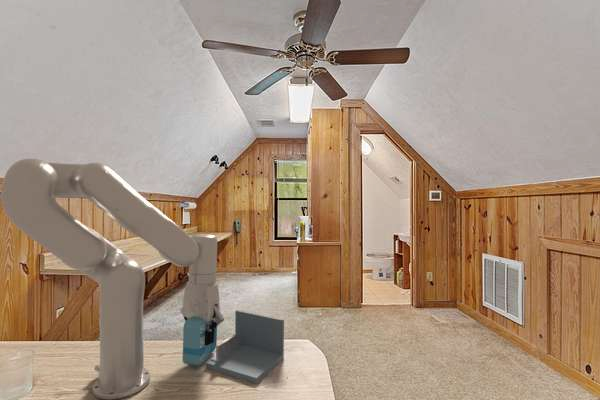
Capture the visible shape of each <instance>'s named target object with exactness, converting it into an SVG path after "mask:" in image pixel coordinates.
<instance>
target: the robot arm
mask: <svg viewBox="0 0 600 400" xmlns="http://www.w3.org/2000/svg"><path fill="white" fill-rule="evenodd" d="M56 198H57V199H81V198H82V199H85V198H86V199H87V200H88V201H89V202H90V203H92V204H93V205H94V206H95V207H97V208H98V210H101V212H103V213H104V214H106V215H107V216H108V217H109V218H110V219H112V220H113V221H114V222H116V224H118V225H119V226H120V227H121V228H123V229H124V230H126V231H127V232H129V233H131V234H132V235H135V236H136V237H138V238H140V239H141V240H143V241H145V242H146V243H148V244H149V245H151V246H152V247H153V248H154V249H156V251H158V253H159V255H160V257H162V258H163V259H164V260H165V261H167V262H169V263H171V264H173V265H175V266H177V267H180V268H185V267H188V272H187V277H188V281H187V282H186V283H185V284H186V285H185V288H184V293H183V300H182V308H180V314H181V315H182V316H183V319H184V320H185V321H186V320H187V319H189V318H190V317H193V318H197V319H201V320H203V322H206V328H207V331H205V345H206V346H207V345H209V344H211V343H213V342H214V329H216V327H217V328H218V327H219V326H220V325H221V323H223V322H224V320H225V317H224V316H223V315H222V312H221V311H220V291H219V285H218V283H217V264H218V263H217V262H218V237H217V236H216V235H215V234H209V233H199V234H193V235H192V234H191V235H190V234H188V233H187V232H186V231H185V230H183V229H182V228H181V227H180V226H179V225H177V224H176V223H175V222H174V221H173V220H171V219H170V218H169V217H167V215H165V214H164V213H162V211H160V210H159V209H158V208H157V207H155V206H154V205H153V204H151V203H150V202H149V201H148V200H147V199H146V198H144V196H142V195H141V194H140V193H139V192H137V191H136V190H135V189H134V188H133V187H132V186H130V185H129V183H127V181H125V180H124V179H123V178H122V177H121V176H119V175H118V174H117V173H116V172H115V171H114V170H113V169H111V168H110V167H108V166H107V165H105V164H104V163H101V162H100V163H99V162H90V163H86V164H79V163H77V164H76V163H59V162H58V163H56V162H46V161H44V160H42V159H38V158H24V159H20V160H18V161H15V163H13V164H12V165H10V167H9V168H8V170H7V171H6V173H5V175H4V178H3V180H2V183H1V188H0V202H1V206H2V209H3V212H4V214H5V216H6V218H7V219H8V220H9V221H10V222H11V223H12V224H13V225H14V226H15V228H17V229H18V230H19V231H20V232H22V233H23V234H25V236H27V237H28V238H30V239H31V240H32V241H34V242H36V243H37V244H38V245H39V246H40V247H42V248H43V249H44V250H46V251H48V252H49V253H51V254H52V255H53V256H54V257H56V258H58V260H60V261H61V262H62V263H63V264H64V265H65V266H67V267H69V268H71V269H73V270H78V271H80V272H81V273H82V274H84V275H86V276H87V277H88V278H90V279H92V280H93V281H95V282H96V283H97V284H98V286H99V307H98V308H99V311H98V312H99V313H98V314H99V316H98V317H99V319H98V320H99V321H98V323H99V364H97V365H95V366H94V371H95V372H97V373H98V378H97V380H95V382H94V383H93V385H92V393H93V395H94V396H95V398H98V399H101V400H116V399H122V398H126V397H129V396H132V395H134V394H137V393H138V392H140V391H142V390H143V389H144V388H145V387H146V386H148V384H149V383H150V381H151V373H150V370H148V369H147V368H144V297H145V288H146V275H145V272H144V269H143V268H142V266H141V264H139V263H138V261H136V260H135V259H133V258H132V257H130V256H129V255H127V254H126V253H124V252H123V251H122V250H121V249H119V248H118V247H117V246H116V245H114V244H113V243H112V242H110V241H109V240H108V239H106V238H105V237H104V236H102V234H100V233H99V232H98V231H96V230H95V229H93V228H91V227H89V226H86V224H83V223H82V222H81V221H80V220H78V219H77V218H76V217H74V216H73V215H72V213H70V212H69V211H67V210H66V209H65V208H64V207H62V206H61V205H60V204H59V203H58V202H57V200H56ZM215 318H216V321H215ZM185 321H184V322H185ZM209 321H211V325H210V322H209Z"/></svg>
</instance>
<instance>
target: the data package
mask: <svg viewBox="0 0 600 400" xmlns="http://www.w3.org/2000/svg"><path fill="white" fill-rule="evenodd" d="M215 321H216V318H215ZM209 322H210V325H211V321H209ZM182 329H183V331H182V334H183V336H182V337H183V338H182V364H184V365H190V366H191V365H192V366H201V365H202V364H203V363H204V362H205V361H206V359H207V358H208V357H209V356H210V355H212V353H213V352H214V351H216V345H218V344H217V342H218V341H217V338H218V326H217V327H216V329H214V342H213V343H211V344H209V345H207V346H206V345H205V331H207V328H206V322H203V320H201V319H197V318H193V317H190V318H189V319H187V320H186V321H184V324H183V328H182Z"/></svg>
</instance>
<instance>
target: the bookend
mask: <svg viewBox="0 0 600 400" xmlns="http://www.w3.org/2000/svg"><path fill="white" fill-rule="evenodd" d="M240 337H241V332H237V333H234V334H232V335H231V336H229V337H228V338H226V339H224V340H223V341H221V342H220V343H218V344H216V348H215V355H214V356H213V357H211V358H210V359H209V360H212V361H215V362H220V361H221V360H223V359H224V358H226V357H227V356H228V355H230V354H231V353H233V352H234V351H236V350H237V349H238V348H240Z"/></svg>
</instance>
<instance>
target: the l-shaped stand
mask: <svg viewBox="0 0 600 400" xmlns="http://www.w3.org/2000/svg"><path fill="white" fill-rule="evenodd" d="M234 315H235V319H234V320H235V321H234V322H235V327H234V328H235V333H237V332H241V337H240V348H238V349H237V350H236V351H234V352H233V353H231V354H230V355H228V356H227V357H226V358H224V359H223V360H221V361H220V362H215V361H212V360H210V359H209V360H207V361H206V362H205V369H207V370H211V371H215V372H217V373H220V374H224V375H227V376H230V377H234V378H236V379H239V380H242V381H246V382H249V383H252V384H256V385H257V384H258V383H260V382H261V380H263V379H264V378H265V377H266V376H267V375H268V374H269V373H271V372H272V370H273V369H274V368H276V367H278V365H279V364H281V362H282V361H283V360H285V358H284V357H285V355H284V353H285V349H284V348H285V319H283V318H279V317H273V316H268V315H263V314H259V313H253V312H249V311H244V310H239V309H237V310H235V314H234ZM235 333H234V334H235Z"/></svg>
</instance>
